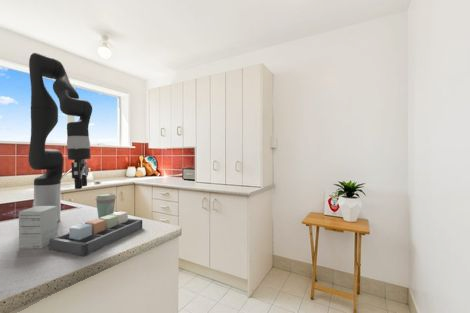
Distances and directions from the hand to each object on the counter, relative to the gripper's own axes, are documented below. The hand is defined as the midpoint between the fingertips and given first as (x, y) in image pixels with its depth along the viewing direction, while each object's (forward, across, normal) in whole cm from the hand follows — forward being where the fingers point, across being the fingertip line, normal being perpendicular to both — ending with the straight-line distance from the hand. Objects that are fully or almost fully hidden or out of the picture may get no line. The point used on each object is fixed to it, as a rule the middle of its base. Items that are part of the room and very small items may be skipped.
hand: (81, 187), depth 86 cm
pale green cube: (+15, +9, +10) cm, 20 cm away
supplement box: (+18, +9, -11) cm, 23 cm away
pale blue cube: (+15, +17, +3) cm, 23 cm away
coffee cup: (+18, -14, +6) cm, 24 cm away
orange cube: (+15, +13, +6) cm, 21 cm away
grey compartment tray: (+19, +10, +8) cm, 23 cm away
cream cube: (+15, +4, +13) cm, 21 cm away
